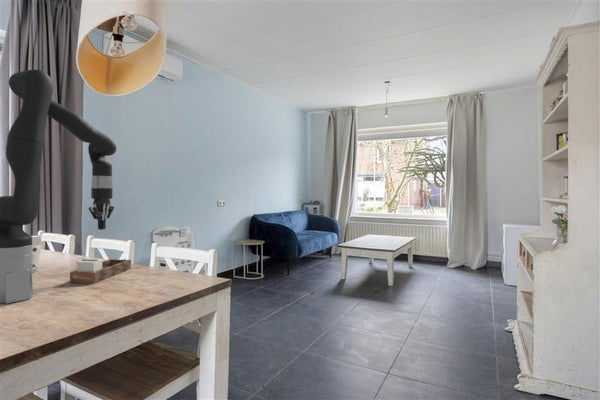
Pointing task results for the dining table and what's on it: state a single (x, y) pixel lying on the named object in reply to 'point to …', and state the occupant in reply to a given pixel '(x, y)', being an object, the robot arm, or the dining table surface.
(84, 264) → the slider block
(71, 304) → the dining table surface
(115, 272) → the wooden tray
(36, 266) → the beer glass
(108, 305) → the dining table surface
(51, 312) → the dining table surface
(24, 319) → the dining table surface
